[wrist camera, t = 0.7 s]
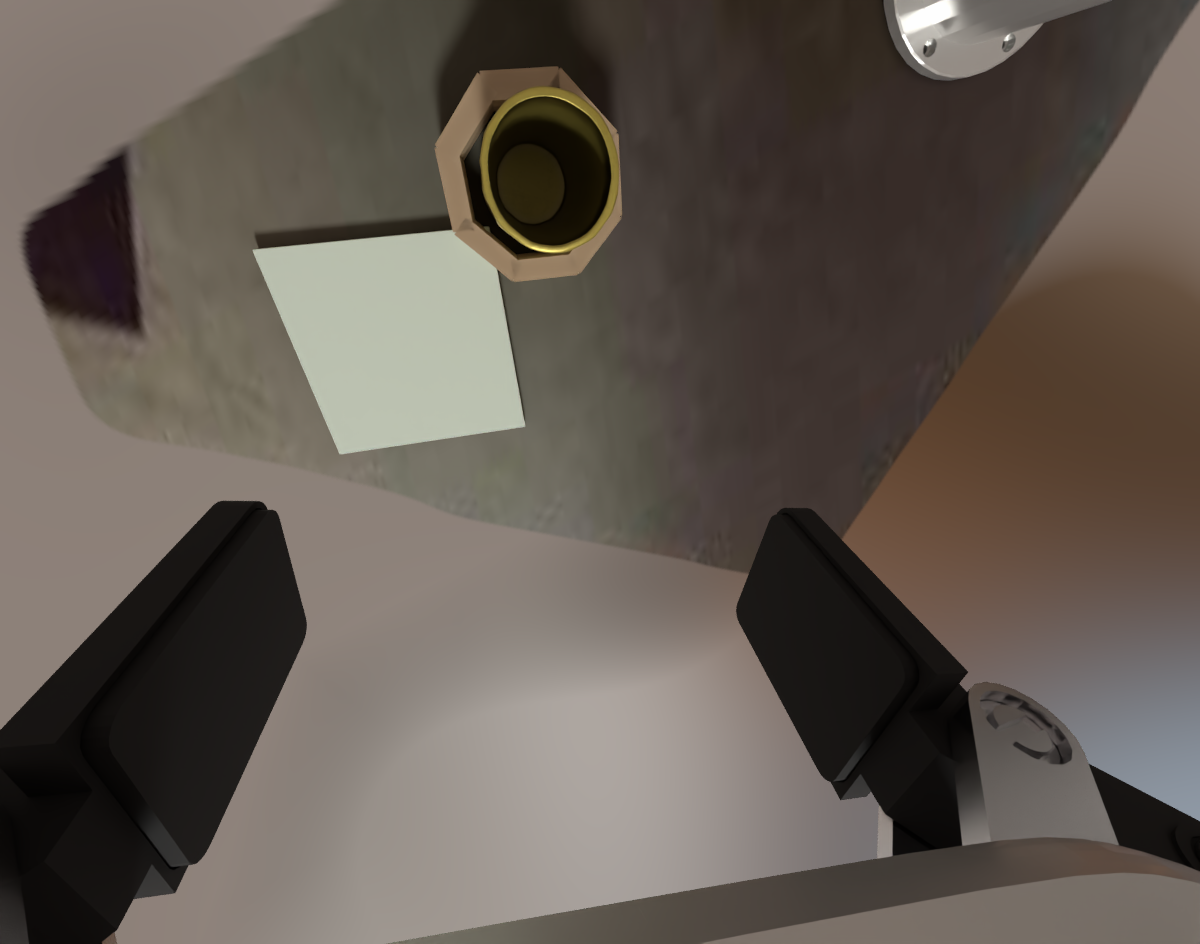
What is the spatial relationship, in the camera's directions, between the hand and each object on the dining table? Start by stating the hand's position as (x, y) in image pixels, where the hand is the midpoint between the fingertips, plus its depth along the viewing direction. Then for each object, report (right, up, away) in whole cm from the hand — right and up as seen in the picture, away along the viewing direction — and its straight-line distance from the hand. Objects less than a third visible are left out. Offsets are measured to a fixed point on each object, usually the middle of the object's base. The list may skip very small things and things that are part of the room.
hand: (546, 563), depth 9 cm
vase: (-3, +20, +20) cm, 29 cm away
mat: (-12, +11, +23) cm, 29 cm away
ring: (-3, +20, +20) cm, 28 cm away
